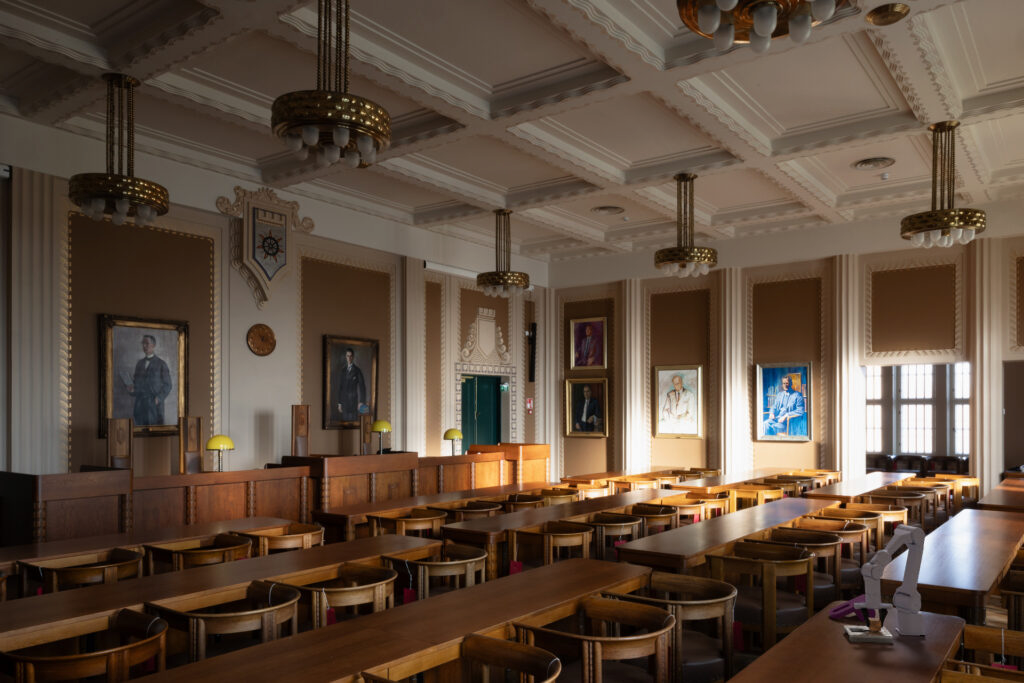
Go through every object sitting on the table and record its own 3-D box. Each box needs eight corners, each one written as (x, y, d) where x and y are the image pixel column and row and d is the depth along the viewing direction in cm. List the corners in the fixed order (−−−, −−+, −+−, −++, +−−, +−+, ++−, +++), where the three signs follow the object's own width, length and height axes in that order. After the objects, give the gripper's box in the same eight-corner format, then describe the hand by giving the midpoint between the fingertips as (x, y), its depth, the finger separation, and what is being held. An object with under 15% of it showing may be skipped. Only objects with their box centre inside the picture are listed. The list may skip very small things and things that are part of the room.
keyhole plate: (884, 634, 326) (884, 626, 326) (893, 643, 314) (892, 636, 314) (844, 632, 329) (843, 625, 329) (850, 642, 317) (850, 634, 317)
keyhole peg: (878, 636, 323) (878, 618, 323) (881, 640, 319) (880, 621, 319) (868, 636, 323) (867, 617, 324) (871, 639, 319) (870, 620, 320)
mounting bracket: (840, 634, 345) (879, 617, 342) (831, 616, 346) (869, 599, 343) (836, 627, 354) (873, 611, 351) (826, 610, 355) (864, 593, 352)
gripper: (888, 591, 324) (890, 624, 324) (851, 590, 327) (853, 623, 326) (893, 595, 317) (895, 629, 317) (856, 594, 320) (857, 628, 319)
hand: (874, 626), depth 321 cm, fingers open, 5 cm apart
